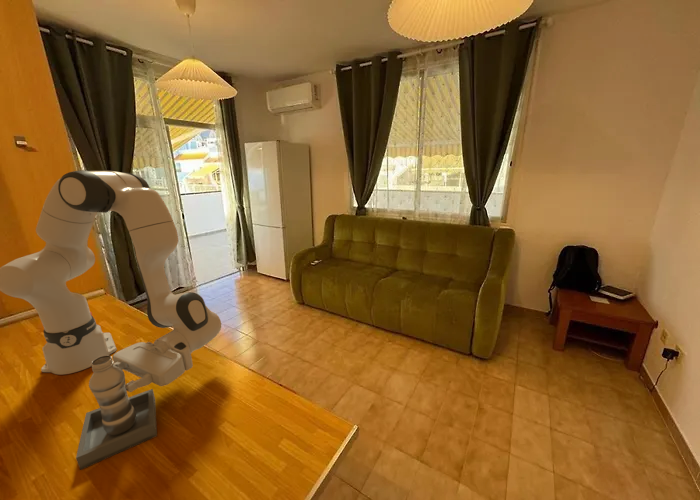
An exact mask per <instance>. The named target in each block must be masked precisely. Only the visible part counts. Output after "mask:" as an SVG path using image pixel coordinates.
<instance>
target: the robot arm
mask: <svg viewBox="0 0 700 500" xmlns="http://www.w3.org/2000/svg"><path fill="white" fill-rule="evenodd" d="M108 212H116V213H117V214H119V215H120V216H121V217H122V219H123V220H124V223H125V226H126V228H127V230H128V232H129V236H130V238H131V241H132V244H133V247H134V251H135V258H136V265H137V268H138V271H139V272H138V273H139V275H140V278H141V279H140V280H141V282H142V286H143V289H144V291H145V295H146V300H147V306H146V315H147V316H146V317H147V319H148V320H149V322H150V323H151V324H152V325H153V326H155V327H156V328H161V329H164V328H165V329H166V328H171V327H173V330H171V331H169V332H168V333H166V334H165V335H162V336H161V337H159V338H157V339H155V341H154V342H153V343H152V342H150V341H147V342H145V341H143V342H142V341H141V342H136V343H134V344H131V345H129V346H127V347H124V348H122V349H121V350H118V349H117V347H116V344H115V341H114V339H113V336H112V333H110V332H103V331H102V328H101V325H99V324H97V322H96V319H95V317H94V316H93V314H92V313H93V312H92V311H90V307H89V304H88V301H87V297H86V296H85V295H83V294H81V293H78V292H72V291H70V289H69V288H68V286H67V282H69V281H71V280H73V279H75V278H77V277H79V276H81V275H83V274H85V273H86V272H87V271H88V270H90V269H91V268H92V267H93V266H94V265H95V262H96V257H95V254H94V252H93V250H92V249H91V248H90V247H88V241H89V237H90V234H91V231H92V228H93V225H94V223H95V220H96V218H97V217H96V216H97V214H98V213H101V214H102V213H108ZM35 233H36V234H37V236H38V237H39V238H40V239H41V240H42V241H44V242H45V246H44V247H43V248H42V249H41V250H40V251H37V252H34V253H31V254H27V255H24V256H22V257H18V258H15V259H13V260H11V261H9V262H7V263H6V264H4V265H2V266H0V292H1V293H3V294H5V295H7V296H10V297H13V298H16V299H17V298H18V299H22V300H24V301H25V302H28V303H29V304H30V305H31V306H32V307H33V308H34V309H35V311H36V312H37V315H38V316H39V319H40V321H41V324H42V327H43V330H42V331H43V336H44V338H45V341H46V343H45V345H43V346H42V348H41V349H42V352H43V356H44V357H43V358H44V360H45V364H44V365H43V366H42V367H41V369H40V371H41V372H42V373H52V374H54V375H69V374H73V373H74V374H75V373H77V372H81V371H83V370H86V369H89V368H90V367H91V368H92V366H91V363H92V361H93V360H95V359H96V358H98V357H101V356H105V355H109V356H111V355H112V354H113V353H114V354H113V355H112V360H113V362H114V366H117V367H119V368H121V369H122V370H123V371H124V372H128V373H130V374H133V375H135V376H137V377H139V378H138V379H136V380H133V379H132V380H130V381H129V382H128V383H125V388H126V391H127V392H129V393H133V391H135V390H137V389H140V388H143V387H147V386H149V385H151V384H152V383H153V384H155V385H157V386H159V387H164V386H168V385H169V384H172V383H173V382H174V381H175V380H177V379H178V378H179V377H180V376H182V375H183V374H184V373H185V372H186V371H188V370H190V369H192V368H193V358H192V353H193V352H194V351H197V350H199V349H201V348H203V347H204V346H205V345H207V344H208V343H210V342H211V341H213V340H214V339H215V338H217V336H218V334H219V333H220V332H221V329H222V321H221V317H220V316H219V315H218V314H217V313H215V311H214V312H213V311H212V310H211V309H210V308H208V306H207V305H206V303H205V300H204V298H203V297H202V296H201V295H200V294H198V293H197V292H194V291H190V292H183V293H182V292H181V293H177V294H174V293H173V292H172V291H171V289H170V285H169V282H168V278H167V274H166V271H165V263H166V261H167V259H168V257H170V255H171V254H172V253H173V252H174V251H175V249H176V248H177V246H178V244H179V235H178V230H177V227H176V225H175V222H174V219H173V217H172V214H171V213H170V211H169V208H168V207H167V205H166V203H165V202H164V200H163V198H162V197H161V195H160V194H159V192H158V191H156V190H154V189H152V188H150V185H149V184H148V182H147V181H146V180H145V179H144V178H143V177H141V176H139V175H137V174H134V173H131V172H120V171H114V170H83V169H82V170H73V171H69V172H67V173H65V174H63V175H62V176H61V177H60V178H59V179H58V180H57V181H55V183H54V184H53V186H52V187H51V189H50V191H49V192H48V194H47V196H46V198H45V200H44V203H43V206H42V209H41V212H40V214H39V218H38V221H37V224H36V227H35ZM117 350H118V351H117ZM116 351H117V352H116Z"/></svg>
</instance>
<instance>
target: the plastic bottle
mask: <svg viewBox="0 0 700 500" xmlns="http://www.w3.org/2000/svg"><path fill="white" fill-rule="evenodd" d="M91 370H92V372H93V373H92V375H91V377H90V378H89V380H88V388H89V389H90V391H91V393H92V394H93V396H94V397H95V399H96V401H97V403H98V406H99V408H100V409H101V414H102V425H103V429H104V430H105V432H106V433H107V434H110V435H118V434H121V433H123V432H125V431H127V430H128V429H130V428H131V427H132V426H133V424H134V423H135V421H136V411H135V409H134V407H133V406H132V404H131V402H130V400H129V395H128V391H127V390H126V388H125V385H126V376H125V371H124V370H122V369H121V368H119V367H117V366H114V361H113V356H111V355H105V356H101V357H98V358H96V359H95V360H93V361H92V363H91Z"/></svg>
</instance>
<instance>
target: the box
mask: <svg viewBox="0 0 700 500" xmlns="http://www.w3.org/2000/svg"><path fill="white" fill-rule="evenodd" d="M128 398H129V400H130V402H131V404H132V406H133V407H134V409H135V411H136V421H135V423H134V424H133V426H132V427H131V428H130V429H128V430H127V431H125V432H123V433H121V434H118V435H110V434H107V433H106V432H105V430H104V429H103V425H102V414H101V409H100V407H98V408H96V409H93V410H91V411H87V412H86V413H85V417H84V421H83V426H82V431H81V435H80V439H79V443H78V448H77V451H76V452H77V453H76V457H75V459H76V462H77V465H78V467H79V470H83V469H86V468H89V467H91V466H93V465H95V464H97V463H99V462H102V461H104V460H106V459H108V458H111V457H113V456H115V455H117V454H119V453H123V452H125V451H126V450H129V449H131V448H133V447H135V446H138V445H140V444H143V443H145V442H147V441H149V440H152V439H153V438H155V437H158V431H157V429H158V428H157V412H156V411H157V410H156V409H157V408H156V407H157V406H156V397H155V393H154V390H153V388H152V389H148V390H145V391H143V392H140V393H137V394H134V395H132V396H128Z"/></svg>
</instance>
